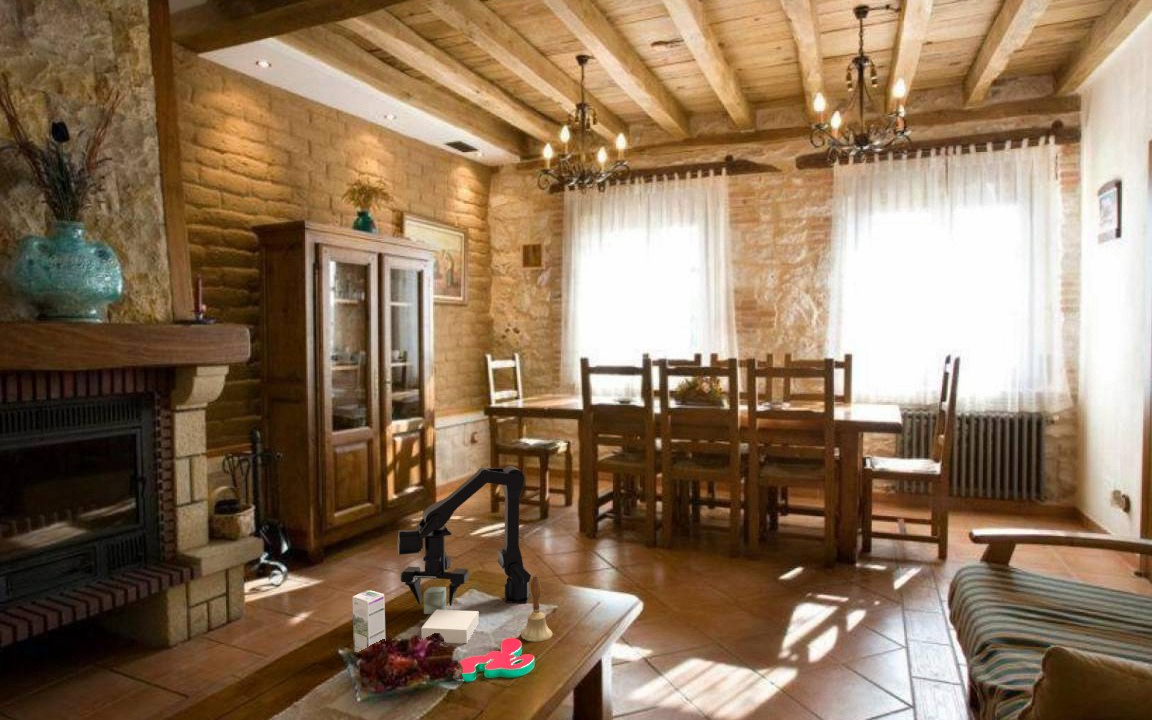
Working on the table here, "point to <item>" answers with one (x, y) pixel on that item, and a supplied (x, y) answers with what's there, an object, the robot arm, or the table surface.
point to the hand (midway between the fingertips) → (435, 604)
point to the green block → (434, 599)
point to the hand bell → (536, 618)
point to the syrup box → (368, 619)
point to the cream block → (452, 625)
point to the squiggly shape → (499, 662)
